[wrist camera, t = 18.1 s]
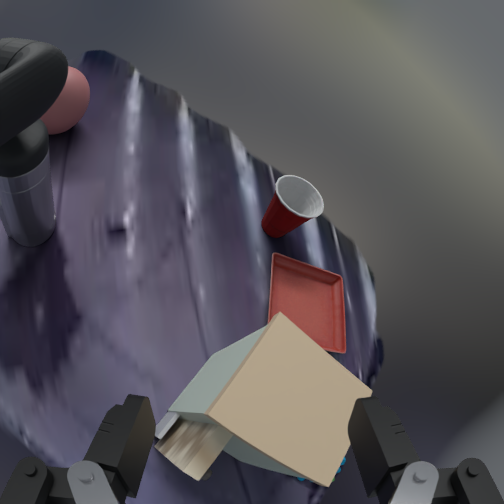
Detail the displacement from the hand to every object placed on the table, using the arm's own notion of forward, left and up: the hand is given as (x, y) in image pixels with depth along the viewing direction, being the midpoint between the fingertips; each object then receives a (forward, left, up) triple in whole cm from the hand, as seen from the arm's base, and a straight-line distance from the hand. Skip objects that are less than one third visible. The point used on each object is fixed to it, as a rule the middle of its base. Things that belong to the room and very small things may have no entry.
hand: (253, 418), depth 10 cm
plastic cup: (+29, +35, -35) cm, 57 cm away
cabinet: (+11, -3, -35) cm, 37 cm away
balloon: (-24, +55, -35) cm, 69 cm away
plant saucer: (+32, +16, -36) cm, 50 cm away
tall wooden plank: (+3, -4, -35) cm, 35 cm away
